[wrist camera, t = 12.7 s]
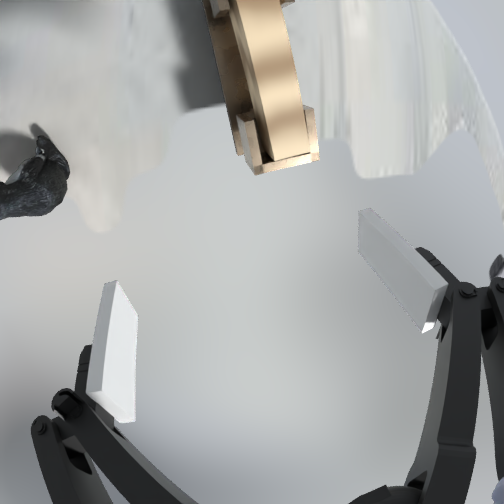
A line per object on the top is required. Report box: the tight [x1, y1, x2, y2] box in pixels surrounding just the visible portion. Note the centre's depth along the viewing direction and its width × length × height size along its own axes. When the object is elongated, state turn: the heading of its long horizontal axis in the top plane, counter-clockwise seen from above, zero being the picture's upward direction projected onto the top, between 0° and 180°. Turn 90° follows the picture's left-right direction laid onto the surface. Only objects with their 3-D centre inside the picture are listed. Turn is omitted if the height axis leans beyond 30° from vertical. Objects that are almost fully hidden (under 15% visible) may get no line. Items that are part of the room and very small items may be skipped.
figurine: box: [0, 136, 70, 220], centre depth 29 cm, size 10×10×15 cm
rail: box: [228, 0, 310, 161], centre depth 27 cm, size 20×4×5 cm, turn 13°
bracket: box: [202, 0, 320, 175], centre depth 30 cm, size 25×8×10 cm, turn 11°
